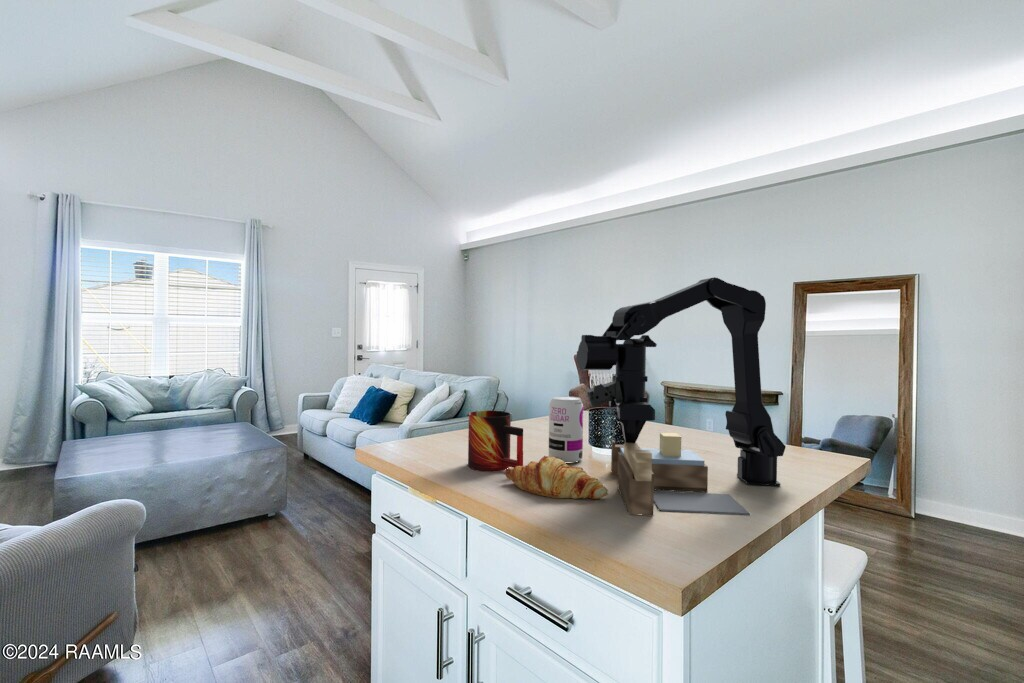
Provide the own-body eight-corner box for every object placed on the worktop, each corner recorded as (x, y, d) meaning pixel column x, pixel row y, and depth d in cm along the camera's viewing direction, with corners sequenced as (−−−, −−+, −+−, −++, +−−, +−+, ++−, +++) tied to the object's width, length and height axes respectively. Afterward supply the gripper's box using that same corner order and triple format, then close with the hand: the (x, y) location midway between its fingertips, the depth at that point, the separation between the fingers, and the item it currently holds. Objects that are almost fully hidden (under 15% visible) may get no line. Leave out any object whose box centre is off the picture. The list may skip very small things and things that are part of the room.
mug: (522, 475, 103) (522, 419, 103) (461, 469, 107) (462, 415, 107) (532, 463, 112) (532, 412, 112) (476, 459, 116) (477, 409, 116)
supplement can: (581, 456, 120) (582, 396, 120) (583, 465, 112) (584, 400, 112) (548, 455, 121) (549, 395, 121) (548, 463, 113) (549, 399, 113)
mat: (728, 495, 91) (728, 494, 91) (749, 514, 81) (750, 513, 81) (648, 492, 93) (648, 490, 93) (659, 510, 83) (659, 509, 83)
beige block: (636, 458, 93) (636, 434, 93) (651, 481, 78) (651, 453, 78) (623, 457, 94) (624, 434, 93) (636, 480, 79) (636, 452, 79)
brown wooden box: (689, 474, 105) (690, 442, 105) (733, 519, 79) (734, 477, 79) (611, 471, 107) (611, 439, 107) (628, 514, 81) (629, 473, 81)
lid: (691, 454, 103) (691, 431, 103) (704, 465, 94) (704, 440, 94) (620, 452, 104) (620, 429, 104) (626, 462, 95) (626, 437, 95)
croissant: (611, 515, 90) (617, 472, 93) (598, 504, 82) (605, 458, 85) (510, 494, 100) (519, 456, 103) (490, 483, 92) (500, 442, 95)
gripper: (586, 366, 104) (585, 438, 105) (592, 372, 86) (591, 459, 86) (638, 367, 103) (637, 439, 104) (656, 374, 85) (654, 462, 85)
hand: (629, 449), depth 94 cm, fingers closed
